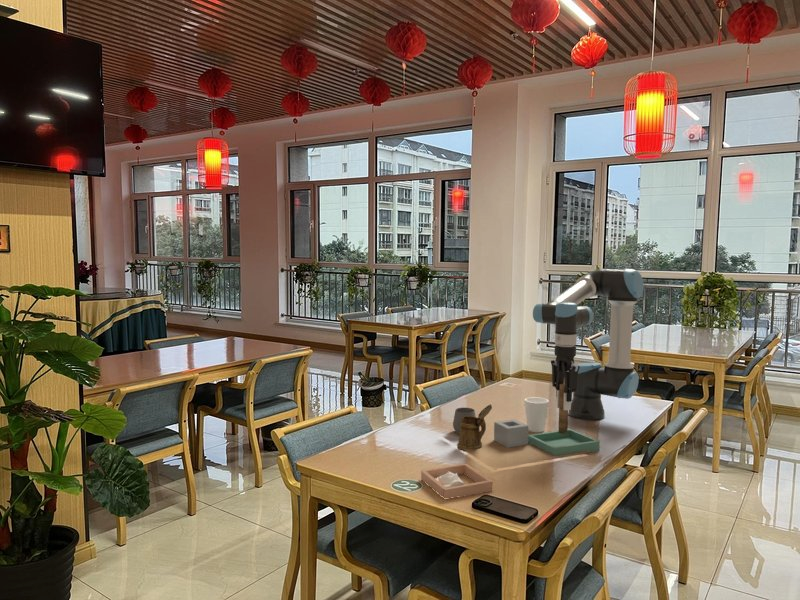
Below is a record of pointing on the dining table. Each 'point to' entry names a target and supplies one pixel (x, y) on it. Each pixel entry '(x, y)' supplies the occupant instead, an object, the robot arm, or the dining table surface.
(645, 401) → the dining table surface
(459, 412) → the cup
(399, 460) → the dining table surface
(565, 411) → the dowel
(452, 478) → the white seashell
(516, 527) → the dining table surface
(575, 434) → the tray
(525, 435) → the grey hollow square block
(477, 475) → the pink square tray
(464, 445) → the wooden mug
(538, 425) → the foam cup
